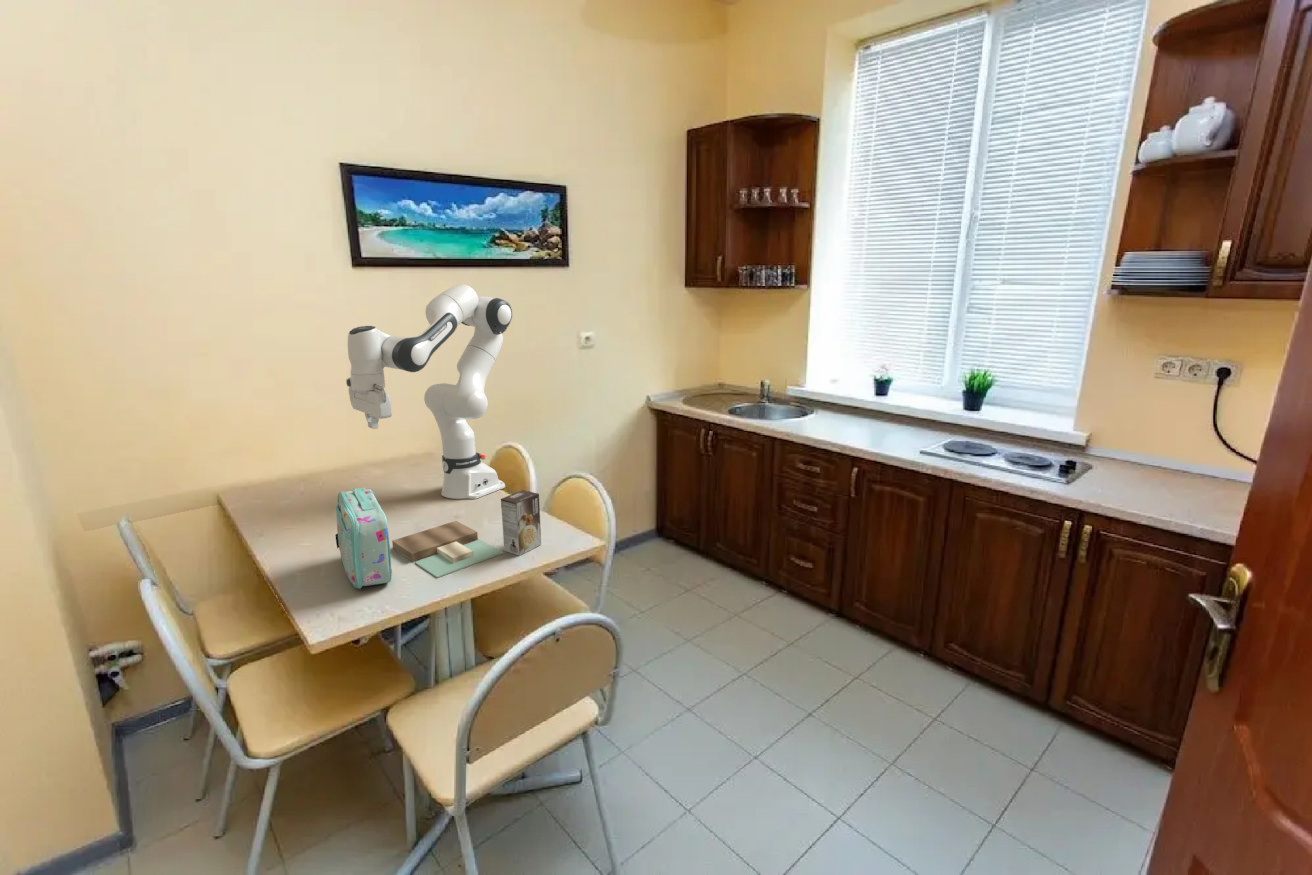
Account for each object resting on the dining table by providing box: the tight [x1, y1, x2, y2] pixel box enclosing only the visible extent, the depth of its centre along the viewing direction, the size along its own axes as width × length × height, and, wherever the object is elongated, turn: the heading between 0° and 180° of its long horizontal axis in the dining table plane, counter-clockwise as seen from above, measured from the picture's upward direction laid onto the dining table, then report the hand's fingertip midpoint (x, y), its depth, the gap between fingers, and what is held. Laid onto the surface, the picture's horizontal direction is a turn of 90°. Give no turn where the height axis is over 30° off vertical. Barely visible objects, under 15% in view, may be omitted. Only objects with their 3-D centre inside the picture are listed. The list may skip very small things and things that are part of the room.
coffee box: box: [500, 489, 542, 557], centre depth 172 cm, size 9×6×16 cm
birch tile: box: [437, 542, 473, 563], centre depth 169 cm, size 6×9×2 cm, turn 48°
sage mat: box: [414, 539, 504, 579], centre depth 167 cm, size 20×12×1 cm, turn 138°
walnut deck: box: [391, 520, 479, 563], centre depth 175 cm, size 20×12×2 cm, turn 138°
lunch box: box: [334, 487, 393, 589], centre depth 157 cm, size 27×10×21 cm, turn 35°
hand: (373, 428), depth 181 cm, fingers closed
